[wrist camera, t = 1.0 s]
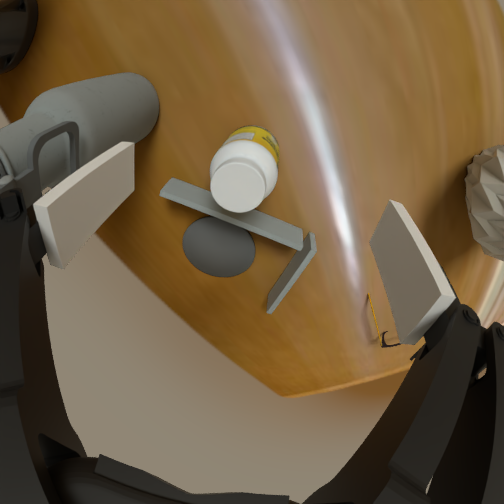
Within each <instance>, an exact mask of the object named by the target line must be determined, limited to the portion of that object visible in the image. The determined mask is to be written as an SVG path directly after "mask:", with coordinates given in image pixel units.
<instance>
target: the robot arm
mask: <svg viewBox="0 0 504 504" xmlns="http://www.w3.org/2000/svg"><path fill="white" fill-rule="evenodd" d="M37 17H38V7H37V2H36V0H0V74H1V73H4V72H8V71H10V70H12V69H13V68H14V67H16V66H17V65H18V64H19V62H20V61H21V60H22V58H23V57H24V55H25V54H26V52H27V50H28V48H29V46H30V43H31V41H32V38H33V35H34V32H35V28H36V24H37ZM133 191H134V143H132V142H120V143H119V144H117V145H115V146H114V147H112V148H110V149H109V150H107V151H106V152H104V153H102V154H101V155H99V156H98V157H96V158H95V159H93V160H92V161H90V162H89V163H87V164H86V165H84V166H83V167H81V168H80V169H78V170H77V171H75V172H74V173H73V174H71V175H70V176H69V177H67V178H66V179H64V180H63V181H62V182H60V183H58V184H57V185H55V186H54V187H53V188H52V189H51V190H49V191H48V192H46V193H45V195H43V196H41V197H40V198H39V199H38V200H37V201H35V202H34V203H33V204H32V205H31V206H29V207H28V208H26V204H25V200H24V196H23V191H22V189H20V188H13V189H9V190H7V191H5V192H3V193H1V194H0V504H299V503H296V502H294V501H291V500H289V496H285V495H283V496H282V495H265V494H253V493H243V492H241V493H240V492H239V493H237V492H235V493H232V492H231V493H210V494H192V493H188V492H186V491H184V490H182V489H180V488H178V487H176V486H174V485H172V484H170V483H168V482H166V481H164V480H162V479H161V478H159V477H157V476H154V475H152V474H150V473H148V472H145V471H143V470H140V469H137V468H135V467H132V466H129V465H126V464H124V463H121V462H118V461H116V460H113V459H111V458H109V457H106V456H104V455H102V454H100V455H99V458H96V457H87V455H86V452H85V450H84V447H83V445H82V443H81V441H80V439H79V437H78V435H77V434H76V432H75V431H74V429H73V428H72V426H71V424H70V422H69V419H68V417H67V413H66V410H65V407H64V403H63V399H62V396H61V392H60V388H59V384H58V380H57V375H56V370H55V366H54V360H53V355H52V349H51V343H50V337H49V329H48V321H47V312H46V301H45V285H44V265H43V262H42V258H43V256H44V255H45V254H46V253H47V256H48V259H49V262H50V265H53V266H55V267H58V268H61V269H65V267H66V266H67V265H68V263H69V262H70V261H71V260H72V258H73V257H74V256H75V255H76V254H77V252H78V251H79V250H80V249H81V247H82V246H83V245H84V244H85V243H86V242H87V240H88V239H89V238H90V237H91V236H92V235H93V234H94V232H95V231H96V230H97V229H98V228H99V227H100V226H101V225H102V224H103V222H104V221H105V220H106V219H107V218H108V217H109V216H110V215H111V214H112V213H113V212H114V211H115V210H116V209H117V207H118V206H119V205H120V204H121V203H122V202H123V201H124V200H125V199H126V198H127V197H128V196H129V195H130V194H131V193H132V192H133ZM369 243H370V246H371V248H372V251H373V254H374V257H375V260H376V263H377V265H378V268H379V271H380V274H381V277H382V281H383V284H384V287H385V290H386V293H387V297H388V300H389V303H390V307H391V310H392V314H393V317H394V321H395V325H396V329H397V332H398V336H399V340H400V344H411V345H415V344H416V343H417V342H418V341H419V340H420V339H421V338H422V337H423V335H424V338H425V341H426V343H425V344H424V345H423V346H422V347H421V348H420V349H419V350H418V351H417V352H416V353H415V354H414V355H413V356H412V357H411V358H410V360H411V361H412V360H413V359H414V358H415V360H414V362H413V364H412V366H411V368H410V370H409V372H408V373H407V375H406V377H405V379H404V381H403V382H402V384H401V386H400V388H399V389H398V391H397V393H396V394H395V396H394V398H393V399H392V401H391V402H390V404H389V406H388V407H387V409H386V410H385V412H384V413H383V415H382V417H381V418H380V420H379V421H378V422H377V424H376V425H375V427H374V428H373V430H372V431H371V432H370V434H369V435H368V436H367V438H366V439H365V441H364V442H363V444H362V445H361V446H360V447H359V448H358V450H357V451H356V452H355V454H354V455H353V456H352V457H351V459H350V460H349V461H348V462H347V463H346V465H345V466H344V467H343V468H342V469H341V470H340V472H339V473H338V474H337V475H336V476H335V477H334V478H333V479H332V480H331V481H330V482H329V483H327V484H325V485H324V486H322V487H321V488H319V489H318V490H317V491H316V492H314V493H313V494H312V495H311V496H310V497H308V498H307V499H306V500H305V502H303V503H302V504H504V326H502V325H501V324H500V323H498V322H493V324H492V325H491V326H490V327H489V328H488V329H486V328H484V327H482V326H481V323H480V320H479V317H478V316H477V314H476V313H475V312H474V311H473V309H472V308H470V307H469V306H467V305H465V304H460V301H459V299H458V297H457V295H456V293H455V291H454V289H453V287H452V285H451V284H450V281H449V279H448V277H446V276H447V275H446V273H445V272H444V270H443V268H442V266H441V265H440V264H439V263H438V262H437V260H436V258H435V256H434V255H433V253H432V251H431V249H430V248H429V246H428V244H427V243H426V241H425V239H424V238H423V236H422V234H421V233H420V231H419V229H418V228H417V226H416V225H415V223H414V222H413V220H412V218H411V217H410V215H409V214H408V212H407V211H406V209H405V208H404V206H403V205H402V204H401V203H398V202H396V201H393V200H389V202H388V204H387V206H386V208H385V211H384V213H383V215H382V217H381V219H380V221H379V223H378V225H377V227H376V230H375V232H374V234H373V236H372V238H371V240H370V242H369ZM486 367H487V369H486V373H485V375H484V376H483V377H481V378H480V379H478V374H479V373H480V372H481V371H482V370H484V369H485V368H486ZM432 476H433V478H432ZM431 478H432V481H431V484H430V487H429V490H428V493H427V494H426V488H427V485H428V484H429V482H430V480H431Z"/></svg>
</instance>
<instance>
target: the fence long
mask: <svg viewBox="0 0 504 504" xmlns="http://www.w3.org/2000/svg"><path fill="white" fill-rule="evenodd" d="M160 196H162V197H165V198H167V199H170V200H172V201H175V202H178V203H180V204H183V205H185V206H188V207H191V208H193V209H196V210H198V211H201V212H204V213H206V214H209V215H211V216H214V217H216V218H219V219H222V220H224V221H227V222H229V223H232V224H234V225H237V226H239V227H242V228H244V229H247V230H249V231H252V232H254V233H257V234H259V235H262V236H264V237H267V238H269V239H272V240H274V241H277V242H279V243H282V244H284V245H287V246H289V247H291V248H294V249H296V250H299V251H301V250H302V248H303V233H302V229H300V228H298V227H296V226H293V225H291V224H289V223H286V222H284V221H282V220H279V219H277V218H274V217H272V216H270V215H267V214H265V213H262V212H260V211H257V210H255V209H253V210H251V211H248V212H242V213H237V212H232V211H229V210H226V209H224V208H223V207H221V206H220V205H219V204H218V203H217V202H216V201H215V199H214V198H213V196H212V193H211V192H210V191H207V190H205V189H202V188H199V187H197V186H194V185H191V184H189V183H186V182H184V181H181V180H178V179H175V178H173V177H172V178H171V179H170V180H169V181H168V183H167V184H166V185H165V186H164V187H163V188H162V189H161V191H160Z"/></svg>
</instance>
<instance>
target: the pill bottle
mask: <svg viewBox="0 0 504 504" xmlns="http://www.w3.org/2000/svg"><path fill="white" fill-rule="evenodd" d="M278 163H279V146H278V143H277V140H276V139H275V137H274V136H273V135H272V134H271V133H270V132H269V131H268V130H266V129H264V128H262V127H259V126H252V125H251V126H244V127H241V128H239V129H237V130H235V131H234V132H233V133H232V134H231V135H230V136H229V137H228V139H227V140H226V141H225V142H224V144H223V145H222V146H221V147H220V149H219V150H218V151H217V152H216V154H215V155H214V157H213V159H212V162H211V165H210V178H211V184H210V188H211V193H212V196H213V198H214V199H215V201H216V202H217V203H218V204H219V205H220V206H221V207H223V208H224V209H226V210H229V211H232V212H237V213H242V212H248V211H251V210H253V209H254V208H256V207H257V206H258V205H259V204H260V203H261V202H262V200H263V199H265V198H266V197H267V196H268V195H269V194H270V193H271V192H272V190H273V189H274V187H275V185H276V182H277V176H278Z"/></svg>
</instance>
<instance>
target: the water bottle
mask: <svg viewBox="0 0 504 504" xmlns="http://www.w3.org/2000/svg"><path fill="white" fill-rule="evenodd" d="M158 114H159V100H158V96H157V93H156V91H155V89H154V87H153V85H152V84H151V83H150V82H149V81H148V80H147V79H146V78H144V77H143V76H140V75H138V74H135V73H119V74H113V75H108V76H102V77H97V78H92V79H88V80H83V81H79V82H75V83H71V84H67V85H64V86H60V87H56V88H53V89H51V90H48V91H46V92H44V93H42V94H41V95H39V96H38V97H37V98H36V99H35V100H34V101H33V102H32V103H31V104H30V106H29V107H28V109H27V111H26V113H25V115H24V117H23V118H22V119H20V120H18V121H16V122H14V123H12V124H9V125H7V126H5V127H3V128H1V129H0V194H1V193H3V192H5V191H7V190H9V189H13V188H20V189H22V191H23V196H24V200H25V204H26V208H28V207H29V206H31V205H32V204H33V203H34V202H35V201H37V200H38V199H39V198H40V197H41V196H42V190H44V189H45V188H46V187H50V188H53V187H54V186H55V185H57V184H58V183H60V182H62V181H63V180H64V179H66V178H67V177H69V176H70V175H71V174H73V173H74V172H75V171H77V170H78V169H80V168H81V167H83V166H84V165H86V164H87V163H89V162H90V161H92V160H93V159H95V158H96V157H98V156H99V155H101V154H102V153H104V152H106V151H107V150H109V149H110V148H112V147H114V146H115V145H117V144H119V143H120V142H132V143H134V144H135V143H137V142H138V141H140V140H142V139H143V138H145V137H146V136H147V135H148V134H149V133H150V131H151V130H152V129H153V127H154V125H155V123H156V121H157V118H158Z"/></svg>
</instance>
